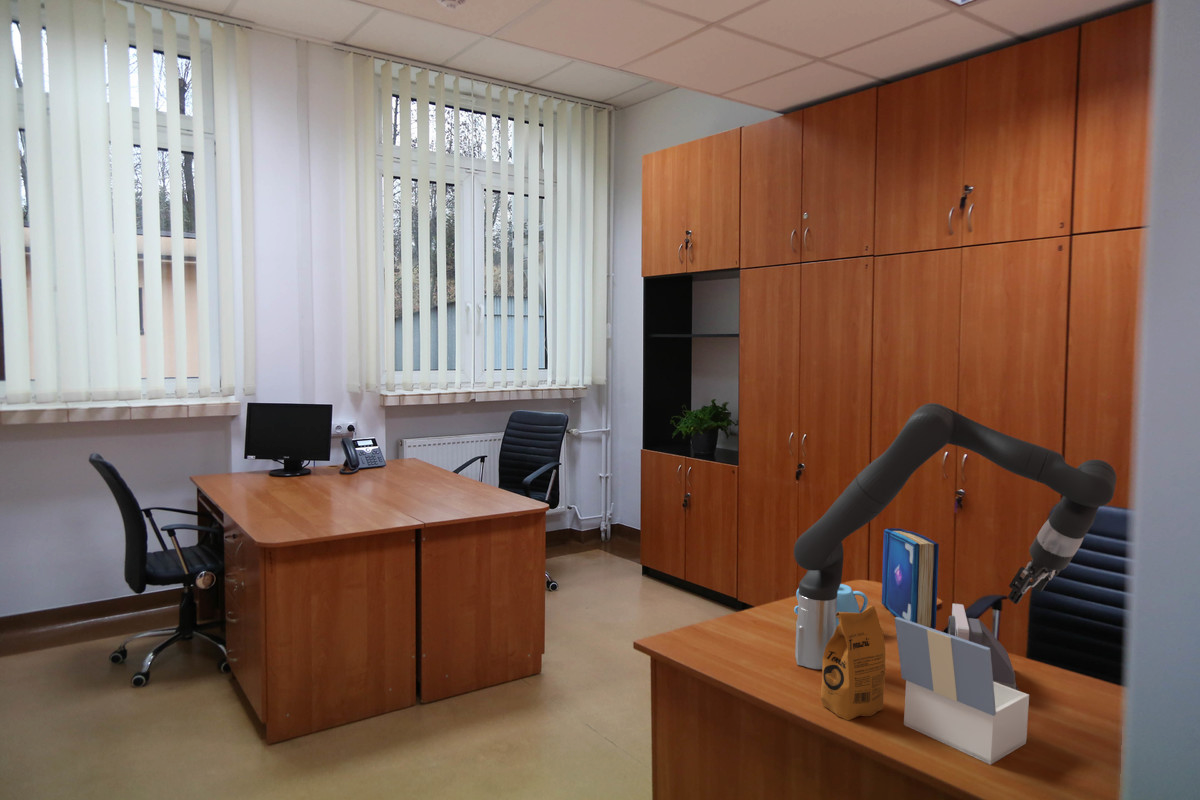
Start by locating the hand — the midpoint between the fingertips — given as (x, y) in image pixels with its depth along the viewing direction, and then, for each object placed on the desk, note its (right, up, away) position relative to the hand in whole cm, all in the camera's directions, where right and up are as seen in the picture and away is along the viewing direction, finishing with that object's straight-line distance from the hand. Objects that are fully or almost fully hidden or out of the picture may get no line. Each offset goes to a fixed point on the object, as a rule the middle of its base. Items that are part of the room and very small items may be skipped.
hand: (1024, 594), depth 167 cm
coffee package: (-40, -24, -3) cm, 46 cm away
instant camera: (-5, -24, +14) cm, 28 cm away
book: (-5, -21, +53) cm, 57 cm away
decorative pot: (-30, -21, +44) cm, 57 cm away
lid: (-27, -8, -20) cm, 34 cm away
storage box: (-20, -25, -13) cm, 35 cm away
